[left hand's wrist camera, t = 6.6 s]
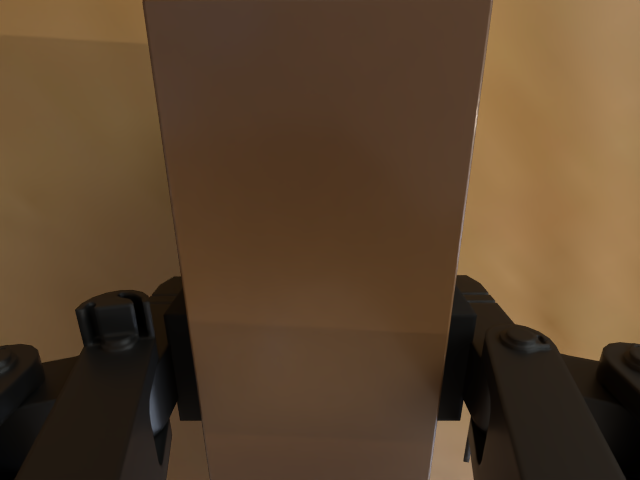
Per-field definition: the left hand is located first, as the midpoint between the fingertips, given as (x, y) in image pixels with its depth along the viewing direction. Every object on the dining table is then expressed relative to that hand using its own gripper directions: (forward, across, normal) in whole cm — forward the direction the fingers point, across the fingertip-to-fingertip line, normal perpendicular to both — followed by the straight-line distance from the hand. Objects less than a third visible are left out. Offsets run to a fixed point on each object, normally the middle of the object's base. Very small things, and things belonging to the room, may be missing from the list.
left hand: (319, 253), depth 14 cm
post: (+1, 0, -30) cm, 30 cm away
